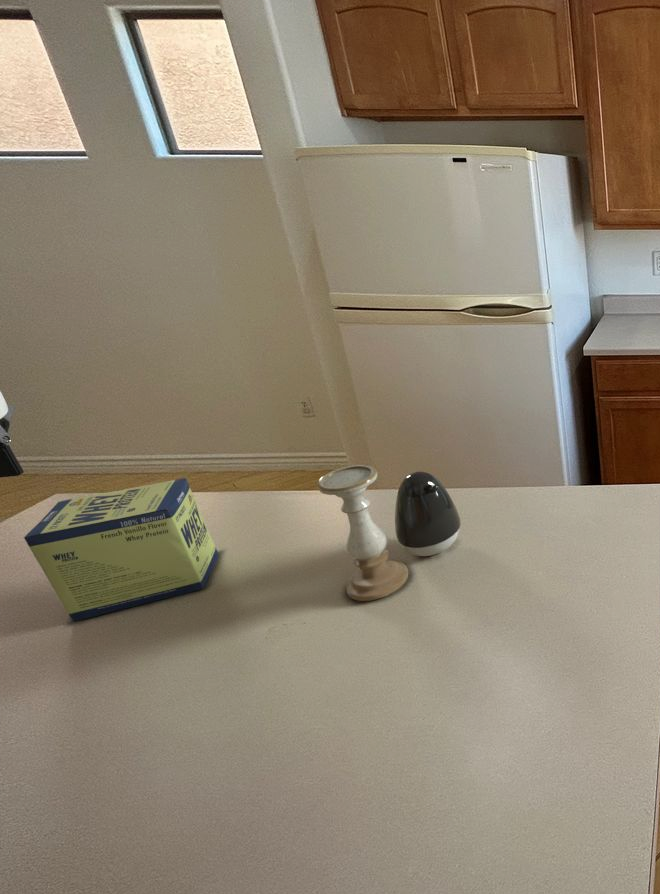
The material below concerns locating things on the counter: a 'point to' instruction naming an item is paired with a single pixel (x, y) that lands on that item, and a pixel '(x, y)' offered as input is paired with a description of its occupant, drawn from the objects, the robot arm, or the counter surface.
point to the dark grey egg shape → (425, 515)
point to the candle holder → (364, 535)
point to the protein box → (124, 548)
